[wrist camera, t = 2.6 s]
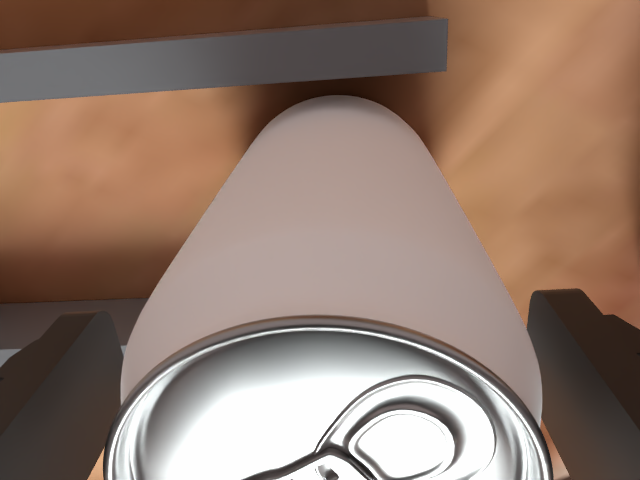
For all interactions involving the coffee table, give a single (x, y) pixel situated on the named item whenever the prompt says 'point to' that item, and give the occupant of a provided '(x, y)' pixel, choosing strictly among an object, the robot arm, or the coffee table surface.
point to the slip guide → (195, 73)
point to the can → (330, 324)
